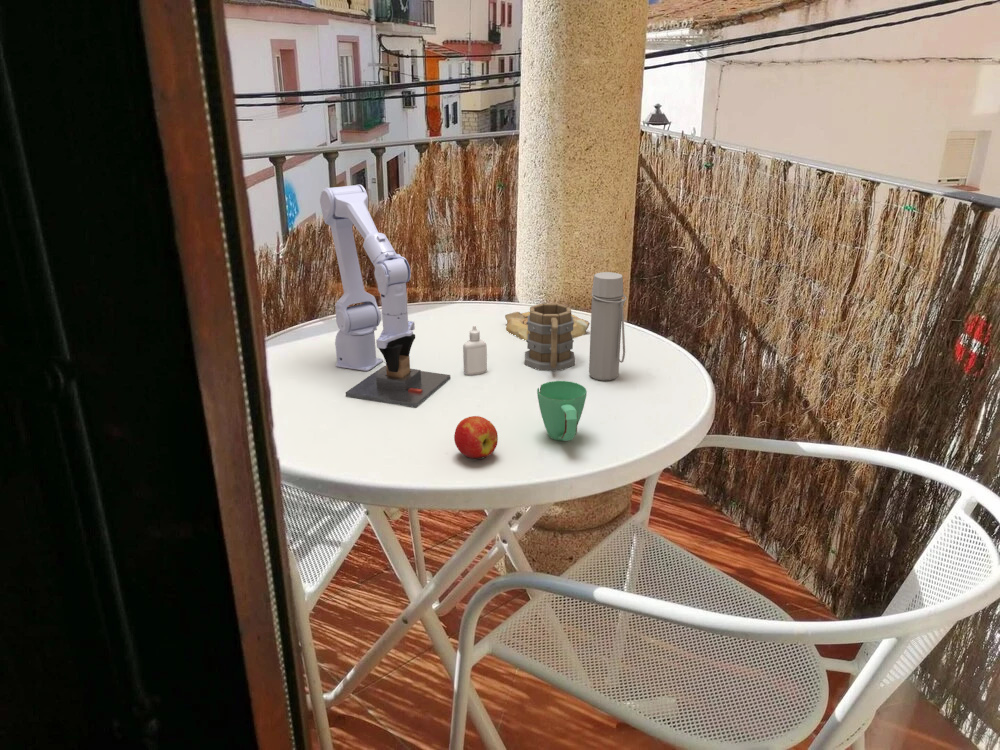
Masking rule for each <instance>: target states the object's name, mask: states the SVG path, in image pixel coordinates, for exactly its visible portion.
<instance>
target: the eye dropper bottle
mask: <svg viewBox="0 0 1000 750" xmlns="http://www.w3.org/2000/svg"><path fill="white" fill-rule="evenodd" d="M480 337H481V335H480V330H478V329H477V325H472V329H471V330H470V331H469V340H468V341H467V340H466V341H465V342H464V343H463V345H462V349H463V350H462V351H463V352H462V357H463V359H462V360H463V373H464V374H466V375H467V376H477V374H478V375H481V374H485V373H486V372H487V371H488V357H487V356H488V355H487V348H488V347H487V343H486V342H485V340H483V339H480Z"/></svg>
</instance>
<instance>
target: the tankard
mask: <svg viewBox="0 0 1000 750" xmlns="http://www.w3.org/2000/svg"><path fill="white" fill-rule="evenodd" d="M529 312H530V315H529V316H528V322H526V324H527V325H528V331H530V334H528V340H526V341H525V342H526V343H527V349H528V350H526V351H525V352H524V365H525V366H527V365H528V366H527V367H530V368H532V367H533V369H535V368H536V370H538V369H539V371H562V369H563V370H565V368H566V369H568V368H571V367H574V366H575V365H576V358H575V356H576V355H575V352H574V351H571V350H573V348H574V346H573V345H574V344H573V343H575V342H574V338H572V334H571V331H573V325H574V322H573V317H572V316H571V314H572V308H571V307H570V306H569V305H564V304H561V303H557V302H556V303H538V304H535V305H532V306H530V307H529ZM573 365H574V366H573Z"/></svg>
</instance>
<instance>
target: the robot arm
mask: <svg viewBox="0 0 1000 750" xmlns="http://www.w3.org/2000/svg"><path fill="white" fill-rule="evenodd" d="M366 190H367V189H365V187H364V186H363V185H362V184H354V185H344V186H335V187H324V188H323V189H322V191H321V194H320V198H319V204H320V208H321V213H322V219H323V221H324V224H325V225H328V226H330V231H331V234H332V238H333V245H334V249H335V254H336V259H337V264H338V269H339V273H340V279H341V280H340V281H341V284H342V289H343V293H342V295H341V296H340V298H338V300H337V301H336V303H335V305H334V306H335V320H336V325H337V327H338V329H339V330H338V332H337V333H336V336H335V339H334V340H335V342H334V345H335V356H336V364H335V367H337V368H344V369H350V370H355V371H356V370H357V371H365V372H368V371H370V370H371V369H373V368H376V366H378V365H379V364H381V363H382V362H383V361H385V365H386V364H387V367H388V370H389V371H390V372H398V368H399V356H400V355H404V356H409V357H410V353H411V349H412V345H413V343H414V341H415V339H416V334H414V330H416V329H415V327H416V326H415V321H412V320H411V321H410V320H409V315H408V313H409V312H408V295H407V283H409V282H410V280H411V275H412V274H411V273H412V271H411V267H410V264H409V262H408V260H407V258H406V257H404V256H401V254H400V253H397V252H396V250H395V249H394V247H393V245H392V244H391V242H390V240H389V239H388V237H387V235H386V234H385V233H383V232H379V231H378V229H377V226H376V224H375V222H374V220H373V218H372V215H371V214H370V211H369V196H368V193H367V191H366ZM353 226H354V227H355V228H356V230H357V231H358V233H359V234H360V235H361V237H362V238H363V240H364V241H363V246H362V247H363V249H364V251H365V254H367V257H368V258H369V260H370V262H371V263H372V265H373V267H374V273H373V274H374V278H375V281H376V284H377V290H378V293H379V294H380V299H381V301H380V303H381V310H380V308H379V306H378V303H377V300H376V297H375V296H374V295H372V294H371V293H369V292H367V291H366V290H365V286H364V281H363V276H362V271H361V267H360V262H359V257H358V251H357V246H356V242H355V236H354V231H353ZM360 303H361V304H360ZM354 304H356V305H354ZM381 320H382V331H381V333H380V335H379V337H378V338H376V337H375V336H376V335H375V332H376V331H377V330H378V329H377V328H378V327H379V325H380V324H381ZM375 338H376V339H375ZM376 348H377V349H378V350H379V351H380V352H381V354H382V356H383V358H379V357H378V358H377V352H376V351H377V350H376Z"/></svg>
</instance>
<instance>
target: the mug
mask: <svg viewBox="0 0 1000 750" xmlns="http://www.w3.org/2000/svg"><path fill="white" fill-rule="evenodd" d="M587 392H588V391H587V388H586V387H585V386H584V385H582V384H580V383H577V382H575V381H574V382H573V381H568V380H553V381H548V382H544V383H542V384H540V387H537V388H536V393H537V395H536V396H537V401H538V405H539V406H538V407H539V410H540V415H541V418H542V421H543V424H544V427H545V429H546V432H547V435H548V437H549V438H550V439H552V440H555V441H561V442H562V441H565V442H567V441H568V442H569V441H571V440H573V439H574V438H575V435H576V433H577V432H578V425H579V423H580V421H581V417H582V414H583V410H584V408H585V404H586V400H587V399H586V398H587Z"/></svg>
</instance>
